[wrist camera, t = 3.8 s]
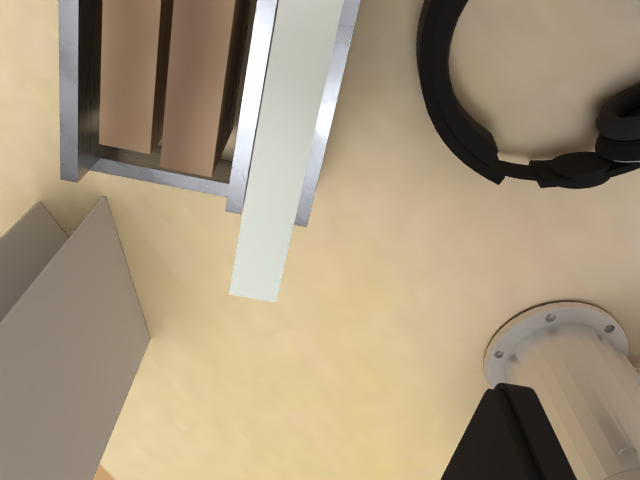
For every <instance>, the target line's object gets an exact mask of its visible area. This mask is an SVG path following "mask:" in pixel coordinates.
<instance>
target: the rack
mask: <svg viewBox="0 0 640 480" xmlns="http://www.w3.org/2000/svg"><path fill="white" fill-rule="evenodd" d="M360 1H361V0H344V3H343V7H342V11H341V16H340V20H339V25H338V29H337V34H336V38H335V43H334V47H333V52H332V56H331V61H330V65H329V70H328V74H327V79H326V83H325V87H324V92H323V96H322V101H321V105H320V110H319V114H318V119H317V123H316V128H315V132H314V137H313V141H312V146H311V150H310V154H309V159H308V163H307V168H306V172H305V177H304V181H303V186H302V190H301V195H300V199H299V204H298V208H297V213H296V217H295V222H294V225H299V226H304V227H307V224H308V220H309V216H310V212H311V207H312V203H313V199H314V195H315V191H316V186H317V182H318V178H319V174H320V170H321V165H322V161H323V157H324V153H325V148H326V144H327V140H328V136H329V132H330V127H331V123H332V119H333V115H334V111H335V106H336V102H337V98H338V94H339V90H340V85H341V81H342V77H343V73H344V68H345V64H346V60H347V56H348V52H349V47H350V43H351V39H352V35H353V31H354V26H355V22H356V18H357V14H358V10H359V5H360ZM278 3H279V0H257V6H256V13H255V19H254V26H253V32H252V39H251V46H250V52H249V59H248V65H247V72H246V78H245V85H244V91H243V98H242V105H241V111H240V118H239V124H238V131H237V137H236V144H235V151H234V157H233V162H231V161H226V160H221V159H219V161H218V164H217V166H216V168H215V171H214V173H213V175H212V177H207V176H202V175H197V174H192V173H188V172H183V171H178V170H173V169H168V168H163V167H160V161H161V149H162V147H157V146H156V147H155V148H154V149H153V151H152V152H151V153H150V154H147V153H142V152H137V151H132V150H127V149H122V148H117V147H112V146H107V145H102V144H99V129H100V88H101V48H102V7H103V0H59V85H60V171H61V179H62V180H67V181H72V182H77V183H78V182H79V180H80V179H81V178H82V177H83V176H84V175H85V174H86V173H87V172H88V171H89V170H91V171H96V172H102V173H107V174H112V175H117V176H122V177H127V178H132V179H137V180H142V181H147V182H152V183H158V184H163V185H168V186H173V187H178V188H183V189H188V190H193V191H198V192H203V193H208V194H213V195H219V196H224V197H227V203H226V210H225V211H227V212H232V213H237V214H241V213H242V209H243V206H244V202H245V197H246V191H247V185H248V179H249V173H250V167H251V162H252V156H253V150H254V144H255V138H256V132H257V126H258V120H259V115H260V109H261V103H262V97H263V91H264V85H265V79H266V73H267V68H268V62H269V56H270V50H271V44H272V38H273V32H274V26H275V20H276V15H277V9H278Z"/></svg>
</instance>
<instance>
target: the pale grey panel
mask: <svg viewBox="0 0 640 480" xmlns="http://www.w3.org/2000/svg"><path fill="white" fill-rule="evenodd" d="M343 3H344V0H279V3H278V9H277V15H276V20H275V26H274V32H273V38H272V44H271V50H270V56H269V62H268V68H267V73H266V79H265V85H264V91H263V97H262V103H261V109H260V115H259V120H258V126H257V132H256V138H255V144H254V150H253V156H252V162H251V167H250V173H249V179H248V185H247V191H246V197H245V203H244V209H243V214H242V220H241V226H240V232H239V238H238V244H237V250H236V256H235V262H234V267H233V273H232V279H231V285H230V291H229V294H230V295H235V296H241V297H247V298H252V299H258V300H264V301H269V302H275V303H276V302H277V298H278V293H279V289H280V284H281V280H282V275H283V271H284V266H285V262H286V257H287V253H288V248H289V244H290V239H291V235H292V230H293V226H294V222H295V217H296V213H297V208H298V204H299V199H300V195H301V190H302V186H303V181H304V177H305V172H306V168H307V163H308V159H309V154H310V150H311V146H312V141H313V137H314V132H315V128H316V123H317V119H318V114H319V110H320V105H321V101H322V96H323V92H324V87H325V83H326V79H327V74H328V70H329V65H330V61H331V56H332V52H333V47H334V43H335V38H336V34H337V29H338V25H339V20H340V16H341V11H342V7H343Z"/></svg>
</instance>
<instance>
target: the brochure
mask: <svg viewBox="0 0 640 480" xmlns="http://www.w3.org/2000/svg"><path fill="white" fill-rule="evenodd" d="M150 339H151V338H150V335H149V332H148V329H147V326H146V323H145V319H144V316H143V313H142V310H141V307H140V304H139V300H138V297H137V294H136V291H135V288H134V284H133V281H132V278H131V275H130V272H129V269H128V265H127V262H126V259H125V256H124V253H123V250H122V246H121V243H120V240H119V237H118V234H117V230H116V227H115V224H114V221H113V218H112V215H111V211H110V208H109V205H108V202H107V199H106V197H102V198H101V199H100V200H99V201H98V203H97V204H96V205H95V206H94V208H93V209H92V210H91V211H90V213H89V214H88V215H87V216H86V218H85V219H84V220H83V221H82V222H81V224H80V225H79V226H78V227H77V229H76V230H75V231H74V232H73V234H72V235H71V236H70V237H68V236H67V234H66V233H65V232H64V231H63V229H62V228H61V227H60V226H59V224H58V223H57V222H56V221H55V219H54V218H53V217H52V216H51V215H50V213H49V212H48V211H47V210H46V208H45V207H44V206H43V205H42V203H41V202H38V203H36V204H35V205H34V206H33V207H32V208H31V209H30V210H29V211H28V212H27V213H26V214H24V215H23V216H22V217H21V218H20V219H19V220H18V221H17V222H16V223H15V224H14V225H13V226H12V227H11V228H10V229H9V230H8V231H7V232H6V233H5V234H4V235H3V236H2V237H1V238H0V480H93V478H94V475H95V473H96V470H97V468H98V465H99V463H100V460H101V458H102V456H103V453H104V451H105V448H106V446H107V443H108V441H109V439H110V436H111V434H112V431H113V429H114V426H115V424H116V422H117V419H118V417H119V414H120V412H121V409H122V407H123V405H124V402H125V400H126V397H127V395H128V392H129V390H130V387H131V385H132V383H133V380H134V378H135V375H136V373H137V370H138V368H139V366H140V363H141V361H142V358H143V356H144V353H145V351H146V349H147V346H148V344H149V341H150Z"/></svg>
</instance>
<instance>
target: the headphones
mask: <svg viewBox="0 0 640 480" xmlns="http://www.w3.org/2000/svg"><path fill="white" fill-rule="evenodd" d="M467 2H468V0H425V2H424V4H423V8H422V12H421V15H420V19H419V25H418V31H417V42H416V56H417V67H418V73H419V78H420V84H421V89H422V93H423V97H424V101H425V104H426V108H427V111H428V114H429V116H430V118H431V120H432V123H433V125H434V127H435V129H436V131H437V132H438V134H439V135H440V137H441V139H442V140H443V142H444V143H445V144H446V145H447V146H448V148H449V149H450V150H451V151H452V152H453V153H454V154H455V155H456V156H457V157H458V158H459V159H460V160H461V161H462V162H463V163H465V164H466V165H467V166H469V167H470V168H471V169H473V170H474V171H475V172H477V173H479V174H480V175H482V176H483V177H485V178H487V179H488V180H490V181H492V182H494V183H496V184H498V185H499V184H500V183H501V182H502V181H503V179H504V178H505V176H508V177H513V178H517V179H525V180H533V181H537V182H538V184H539V186H540V188H547V187H563V188H570V189H582V188H590V187H595V186H598V185H601V184H603V183H605V182H606V181H608V180H609V178H610V177H614V176H617V175H621V174H624V173H627V172H630V171H633V170H636V169H638V168H640V84H638V85H636V86H634V87H632V88H630V89H628V90H626V91H624V92H622V93H621V94H619V95H618V96H616V97H615V98H614V99H612V100H611V101H609V102H608V103H607V104H606V105H605V106H604V107H603V109H602V110H601V111H600V113H599V115H598V117H597V120H596V127H597V130H598V131H599V132H600V133H599V135H598V138H597V140H596V144H595V152H573V153H568V154H564V155H561V156H558V157H556V158H554V159H553V160H535V161H530V162H529V165H522V164H514V163H509V162H505V161H500V160H499V159H498V156H497V153H498V150H497V147H496V144H495V141H494V139H493V136H492V134H491V133H490V132H488V131H487V130H486V129H484V128H483V127H482V126H481V125H479V124H478V123H477V122H476V121H474V120H473V119H472V117H471V116H470V115H469V114H468V113H467V112H466V111H465V110H464V109H463V107H462V106H461V104H460V103H459V101H458V100H457V98H456V96H455V94H454V92H453V89H452V84H451V80H450V76H449V66H448V60H449V50H450V44H451V40H452V36H453V32H454V29H455V26H456V24H457V21H458V18H459V16H460V14H461V12H462V11H463V9H464V7H465V5H466V3H467Z"/></svg>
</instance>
